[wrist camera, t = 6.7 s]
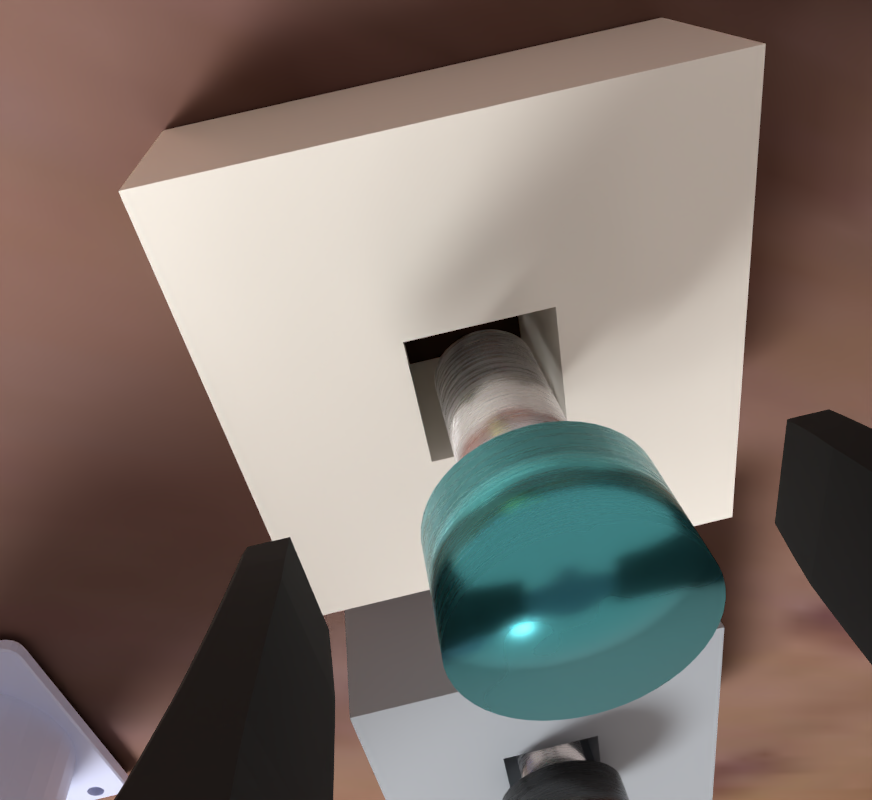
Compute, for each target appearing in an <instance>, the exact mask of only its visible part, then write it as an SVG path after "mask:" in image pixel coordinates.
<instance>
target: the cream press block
mask: <svg viewBox="0 0 872 800" xmlns="http://www.w3.org/2000/svg"><path fill="white" fill-rule="evenodd" d="M765 47H766V44H765V43H761V42H757V41H753V40H749V39H745V38H741V37H737V36H733V35H730V34H726V33H722V32H718V31H714V30H710V29H706V28H702V27H698V26H694V25H690V24H686V23H682V22H678V21H674V20H670V19H666V18H657V19H653V20H648V21H644V22H640V23H635V24H631V25H626V26H622V27H618V28H613V29H609V30H604V31H600V32H595V33H591V34H587V35H582V36H578V37H573V38H569V39H565V40H560V41H556V42H551V43H547V44H543V45H538V46H534V47H529V48H525V49H520V50H516V51H512V52H507V53H503V54H498V55H494V56H490V57H485V58H481V59H476V60H472V61H467V62H463V63H459V64H454V65H450V66H445V67H441V68H437V69H432V70H428V71H423V72H419V73H414V74H410V75H406V76H401V77H397V78H392V79H388V80H384V81H379V82H375V83H370V84H366V85H361V86H357V87H353V88H348V89H344V90H339V91H335V92H331V93H326V94H322V95H317V96H313V97H308V98H304V99H300V100H295V101H291V102H286V103H282V104H278V105H273V106H269V107H264V108H260V109H255V110H251V111H247V112H242V113H238V114H233V115H229V116H225V117H220V118H216V119H211V120H207V121H202V122H198V123H194V124H189V125H185V126H180V127H176V128H172V129H167V130H163V131H162V133H161V134H160V135H159V137H158V138H157V139H156V141H155V142H154V143H153V145H152V146H151V148H150V149H149V150H148V152H147V153H146V154H145V156H144V157H143V158H142V160H141V161H140V162H139V164H138V165H137V167H136V168H135V169H134V171H133V172H132V173H131V175H130V176H129V177H128V179H127V180H126V181H125V183H124V184H123V186H122V187H121V188H120V190H119V194H120V196H121V198H122V201H123V203H124V205H125V207H126V210H127V212H128V214H129V216H130V219H131V221H132V223H133V226H134V228H135V230H136V232H137V235H138V237H139V239H140V241H141V244H142V246H143V248H144V251H145V253H146V255H147V257H148V260H149V262H150V264H151V267H152V269H153V271H154V273H155V276H156V278H157V280H158V282H159V285H160V287H161V289H162V292H163V294H164V296H165V298H166V301H167V303H168V305H169V308H170V310H171V312H172V314H173V317H174V319H175V321H176V323H177V326H178V328H179V330H180V333H181V335H182V337H183V339H184V342H185V344H186V346H187V348H188V351H189V353H190V355H191V358H192V360H193V362H194V364H195V367H196V369H197V371H198V374H199V376H200V378H201V380H202V383H203V385H204V387H205V389H206V392H207V394H208V396H209V399H210V401H211V403H212V405H213V408H214V410H215V412H216V414H217V417H218V419H219V421H220V424H221V426H222V428H223V430H224V433H225V435H226V437H227V440H228V442H229V444H230V446H231V449H232V451H233V453H234V455H235V458H236V460H237V462H238V465H239V467H240V469H241V471H242V474H243V476H244V478H245V480H246V483H247V485H248V487H249V490H250V492H251V494H252V496H253V499H254V501H255V503H256V506H257V508H258V510H259V512H260V515H261V517H262V519H263V521H264V524H265V526H266V528H267V531H268V533H269V535H270V537H271V540H272V541H275V540H279V539H284V538H288V537H290V538H291V540H292V543H293V545H294V548H295V550H296V552H297V555H298V557H299V560H300V562H301V564H302V567H303V569H304V572H305V574H306V576H307V579H308V581H309V584H310V586H311V588H312V591H313V593H314V595H315V598H316V600H317V603H318V605H319V607H320V610H321V612H322V615H326V614H330V613H335V612H339V611H343V610H347V609H351V608H355V607H360V606H364V605H368V604H372V603H376V602H380V601H385V600H389V599H393V598H397V597H401V596H405V595H410V594H414V593H418V592H422V591H426V590H430V588H429V583H428V577H427V571H426V566H425V560H424V555H423V549H422V543H421V523H422V517H423V513H424V510H425V507H426V504H427V502H428V500H429V498H430V496H431V494H432V492H433V490H434V489H435V487H436V486H437V484H438V483H439V482H440V480H441V479H442V477H443V476H444V475H445V474H446V473H447V472H448V471H449V470H450V469H451V468H452V467H453V466H454V465H455V464H456V462H455V458H454V455H453V451H452V447H451V443H450V440H449V436H448V432H447V429H446V425H445V421H444V417H443V414H442V410H441V406H440V403H439V399H438V395H437V392H436V388H435V382H434V378H435V370H436V366H437V363H438V361H439V359H440V357H439V358H434V359H430V360H426V361H421V362H417V363H413V364H410V363H409V358H408V354H407V350H406V346H405V342H407V341H411V340H415V339H420V338H424V337H428V336H433V335H437V334H441V333H445V332H450V331H454V330H458V329H463V328H467V327H471V326H475V325H480V324H484V323H488V322H493V321H497V320H501V319H505V318H510V317H514V316H518V319H519V326H520V334H521V338H520V339H522V340H523V341H524V342H525V343H526V344H527V346H528V347H529V348H530V350H531V352H532V354H533V356H534V358H535V360H536V362H537V363H538V365H539V367H540V369H541V371H542V373H543V375H544V377H545V379H546V381H547V383H548V385H549V387H550V388H551V390H552V392H553V394H554V396H555V398H556V400H557V402H558V404H559V406H560V408H561V410H562V412H563V414H564V415H565V417H566V419H567V421H578V422H586V423H592V424H597V425H601V426H604V427H607V428H611V429H613V430H615V431H617V432H619V433H622V434H624V435H625V436H627V437H628V438H630V439H631V440H633V441H634V442H635V443H637V444H638V445H639V446H640V447H641V448H642V449H643V450H644V451H645V452H646V454H647V455H648V456H649V458H650V459H651V460H652V462H653V463H654V465H655V467H656V468H657V470H658V471H659V473H660V474H661V476H662V478H663V479H664V481H665V482H666V484H667V485H668V487H669V488H670V490H671V492H672V493H673V495H674V496H675V498H676V499H677V501H678V503H679V504H680V506H681V507H682V509H683V510H684V512H685V513H686V515H687V517H688V518H689V520H690V521H691V523H692V524H693V526H697V525H701V524H705V523H710V522H714V521H718V520H722V519H726V518H730V517H732V513H733V499H734V485H735V471H736V457H737V443H738V428H739V414H740V400H741V386H742V372H743V358H744V344H745V330H746V315H747V301H748V287H749V273H750V259H751V245H752V231H753V217H754V203H755V188H756V174H757V160H758V146H759V132H760V118H761V104H762V90H763V75H764V61H765Z"/></svg>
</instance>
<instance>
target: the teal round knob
mask: <svg viewBox="0 0 872 800" xmlns="http://www.w3.org/2000/svg"><path fill="white" fill-rule="evenodd" d="M434 382H435V388H436V392H437V395H438V399H439V403H440V406H441V410H442V414H443V417H444V421H445V425H446V429H447V432H448V436H449V440H450V443H451V447H452V451H453V455H454V458H455V462H456V464H455V465H454V466H453V467H452V468H451V469H450V470H449V471H448V472H447V473H446V474H445V475H444V476H443V477H442V479H441V480H440V482H439V483H438V484H437V486H436V487H435V489H434V490H433V492H432V494H431V496H430V498H429V500H428V502H427V504H426V507H425V510H424V513H423V517H422V523H421V543H422V549H423V555H424V560H425V566H426V571H427V577H428V583H429V588H430V594H431V599H432V605H433V611H434V616H435V622H436V627H437V633H438V639H439V644H440V650H441V655H442V661H443V667H444V669H445V672H446V674H447V677H448V679H449V680H450V682H451V683H452V685H453V686H454V688H455V689H456V690H457V691H458V692H459V693H460V694H461V695H462V696H463V697H465V698H466V699H467V700H469V701H470V702H472V703H473V704H475V705H477V706H478V707H480V708H482V709H484V710H487V711H489V712H492V713H495V714H498V715H501V716H506V717H510V718H515V719H522V720H535V721H552V720H565V719H573V718H579V717H584V716H589V715H594V714H597V713H601V712H604V711H608V710H611V709H614V708H617V707H619V706H622V705H625V704H627V703H629V702H632V701H634V700H636V699H638V698H641V697H643V696H644V695H646V694H648V693H650V692H652V691H654V690H655V689H657V688H659V687H660V686H662V685H663V684H665V683H666V682H668V681H670V680H671V679H672V678H674V677H675V676H676V675H677V674H679V673H680V672H681V671H683V670H684V669H685V668H686V667H687V666H688V665H689V664H690V663H691V662H692V661H693V660H694V659H695V658H696V657H697V656H698V655H699V654H700V653H701V652H702V650H703V649H704V648H705V647H706V645H707V644H708V642H709V641H710V639H711V638H712V637H713V635H714V633H715V631H716V629H717V627H718V625H719V623H720V620H721V617H722V615H723V612H724V606H725V600H726V589H725V582H724V578H723V574H722V572H721V570H720V568H719V566H718V564H717V562H716V560H715V559H714V557H713V556H712V554H711V553H710V551H709V549H708V548H707V546H706V545H705V543H704V542H703V540H702V539H701V537H700V535H699V534H698V532H697V531H696V529H695V528H694V526H693V524H692V523H691V521H690V520H689V518H688V517H687V515H686V513H685V512H684V510H683V509H682V507H681V506H680V504H679V503H678V501H677V499H676V498H675V496H674V495H673V493H672V492H671V490H670V488H669V487H668V485H667V484H666V482H665V481H664V479H663V478H662V476H661V474H660V473H659V471H658V470H657V468H656V467H655V465H654V463H653V462H652V460H651V459H650V458H649V456H648V455H647V454H646V452H645V451H644V450H643V449H642V448H641V447H640V446H639V445H638V444H637V443H635V442H634V441H633V440H631V439H630V438H628V437H627V436H625V435H624V434H622V433H619V432H617V431H615V430H613V429H611V428H607V427H604V426H601V425H597V424H592V423H586V422H578V421H567V419H566V417H565V415H564V414H563V412H562V410H561V408H560V406H559V404H558V402H557V400H556V398H555V396H554V394H553V392H552V390H551V388H550V387H549V385H548V383H547V381H546V379H545V377H544V375H543V373H542V371H541V369H540V367H539V365H538V363H537V362H536V360H535V358H534V356H533V354H532V352H531V350H530V348H529V347H528V346H527V344H526V343H525V342H524V341H523V340H522V339H520V338H519V337H517V336H516V335H514V334H512V333H509V332H506V331H502V330H494V329H488V330H480V331H476V332H472V333H469V334H467V335H465V336H463V337H461V338H459V339H458V340H456V341H455V342H454V343H452V344H451V345H450V346H449V347H448V348H447V349H446V350H445V352H444V353H443V354H442V356H441V357H440V359H439V361H438V363H437V366H436V370H435V378H434Z"/></svg>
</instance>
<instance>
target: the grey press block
mask: <svg viewBox="0 0 872 800" xmlns="http://www.w3.org/2000/svg"><path fill="white" fill-rule="evenodd" d="M345 627H346V647H347V668H348V689H349V709H350V719H351V722H352V724H353V726H354V729H355V731H356V733H357V735H358V738H359V740H360V742H361V745H362V747H363V749H364V751H365V754H366V756H367V758H368V760H369V763H370V765H371V767H372V770H373V772H374V774H375V776H376V779H377V781H378V783H379V785H380V788H381V790H382V792H383V795H384V797H385V799H386V800H502V799H503V797H504V795H505V793H506V792H507V791H508V790H509V788H510V787H511V786H512V785H513V784H515V783H516V782H517V781H518V780H520V779H521V778H522V777H521V773H520V769H519V765H518V761H517V757H516V756H517V755H521V754H525V753H529V752H533V751H537V750H542V749H546V748H550V747H554V746H558V745H562V744H566V743H570V742H574V741H578V740H580V743H581V746H582V749H583V752H584V755H585V758H586V760H591V761H598V762H602V763H605V764H608V765H610V766H611V767H613V768H614V769H616V770H617V771H618V773H619V774H620V776H621V779H622V781H623V784H624V787H625V790H626V792H627V795H628V798H629V800H712V795H713V781H714V767H715V753H716V739H717V725H718V711H719V697H720V683H721V668H722V654H723V640H724V626H723V624H722V622H721V621H720V623H719V625H718V627H717V629H716V631H715V633H714V635H713V637H712V638H711V639H710V641H709V642H708V644H707V645H706V647H705V648H704V649H703V650H702V652H701V653H700V654H699V655H698V656H697V657H696V658H695V659H694V660H693V661H692V662H691V663H690V664H689V665H688V666H687V667H686V668H685V669H684V670H683V671H681V672H680V673H679V674H677V675H676V676H675V677H674V678H672V679H671V680H670V681H668V682H666V683H665V684H663V685H662V686H660V687H659V688H657V689H655V690H654V691H652V692H650V693H648V694H646V695H644V696H643V697H641V698H638V699H636V700H634V701H632V702H629V703H627V704H625V705H622V706H619V707H617V708H614V709H611V710H608V711H604V712H601V713H597V714H594V715H589V716H584V717H579V718H573V719H565V720H552V721H535V720H522V719H515V718H510V717H506V716H501V715H498V714H495V713H492V712H489V711H487V710H484V709H482V708H480V707H478V706H477V705H475V704H473V703H472V702H470V701H469V700H467V699H466V698H465V697H463V696H462V695H461V694H460V693H459V692H458V691H457V690H456V689H455V688H454V686H453V685H452V683H451V682H450V680H449V679H448V677H447V674H446V672H445V669H444V667H443V661H442V655H441V650H440V644H439V639H438V633H437V627H436V622H435V616H434V611H433V605H432V599H431V594H430V590H426V591H422V592H418V593H414V594H410V595H405V596H401V597H397V598H393V599H389V600H385V601H380V602H376V603H372V604H368V605H364V606H360V607H355V608H351V609H347V610H345Z"/></svg>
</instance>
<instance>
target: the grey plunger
mask: <svg viewBox="0 0 872 800" xmlns="http://www.w3.org/2000/svg"><path fill="white" fill-rule="evenodd" d="M516 757H517V761H518V765H519V769H520V773H521V777H522V778H521V779H520V780H518V781H517V782H516V783H515V784H513V785H512V786H511V787H510V788H509V790H508V791H507V792H506V793H505V795H504V797H503V799H502V800H629V798H628V795H627V792H626V790H625V787H624V784H623V781H622V779H621V776H620V774H619V773H618V771H617V770H616V769H614V768H613V767H611V766H610V765H608V764H605V763H602V762H598V761H591V760H586V758H585V755H584V752H583V749H582V746H581V743H580V740H578V741H574V742H570V743H566V744H562V745H558V746H554V747H550V748H546V749H542V750H537V751H533V752H529V753H525V754H521V755H517V756H516Z"/></svg>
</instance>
